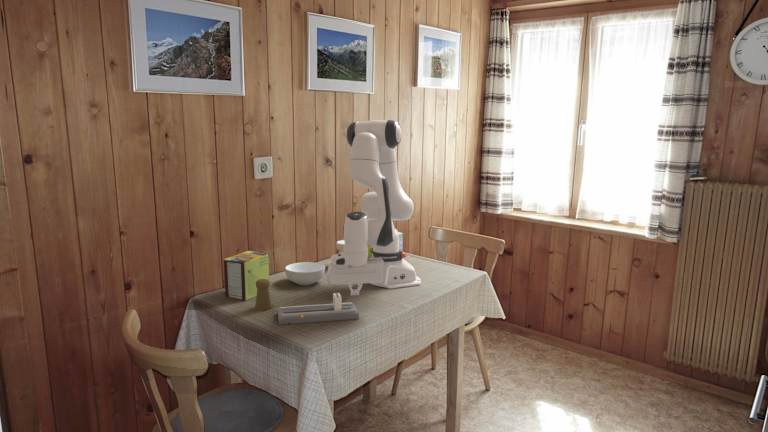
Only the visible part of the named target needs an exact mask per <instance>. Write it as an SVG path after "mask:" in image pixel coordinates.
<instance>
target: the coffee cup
mask: <svg viewBox="0 0 768 432" xmlns="http://www.w3.org/2000/svg"><path fill="white" fill-rule="evenodd" d="M335 245H336V254H338V253H341V252H343V249H344V245H345V241H344V239H341V240H337V241H336V243H335Z"/></svg>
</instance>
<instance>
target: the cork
mask: <svg viewBox="0 0 768 432" xmlns="http://www.w3.org/2000/svg"><path fill="white" fill-rule="evenodd" d="M270 286H271V282H270V279H269V280H268V279H259V280H257V281H256V288H257V296H255V307H254V309H255V310H257V311H260V312H261V311H262V312H264V311H270V310H271V309H273V308H272V301H271V295H270Z"/></svg>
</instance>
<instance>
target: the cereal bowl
mask: <svg viewBox="0 0 768 432" xmlns="http://www.w3.org/2000/svg"><path fill="white" fill-rule="evenodd" d="M284 269H285V271H284V272H285V276H286V277H287V279H288V280H289V281H291V282H293V283H295V284H297V285H299V286H311V285H313V284H315V283H317V282H319V281H320V280H322V279H323V277H324V275H325V273H326V266H325V265H324V264H322V263H319V262H312V261H311V262H310V261H308V262H307V261H305V262H304V261H303V262H295V263H291V264H288V265H286V266H285V268H284Z"/></svg>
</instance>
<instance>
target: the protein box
mask: <svg viewBox="0 0 768 432" xmlns="http://www.w3.org/2000/svg"><path fill="white" fill-rule="evenodd" d="M269 262H270V261H269V253H267V252H259V251H254V250H253V251H252V250H246V251H244V252H240V253H238V254H236V255H232V256H230V257H227V258H224V259H223V276H224V293H225V295H224V296H225V298H229V299H233V300H234V299H235V300H239V301H249V300H251V299H253V298H256V296H257V288H256V281H257V280H259V279H268V280H269V281H270V269H269V268H270V265H269Z"/></svg>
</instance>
